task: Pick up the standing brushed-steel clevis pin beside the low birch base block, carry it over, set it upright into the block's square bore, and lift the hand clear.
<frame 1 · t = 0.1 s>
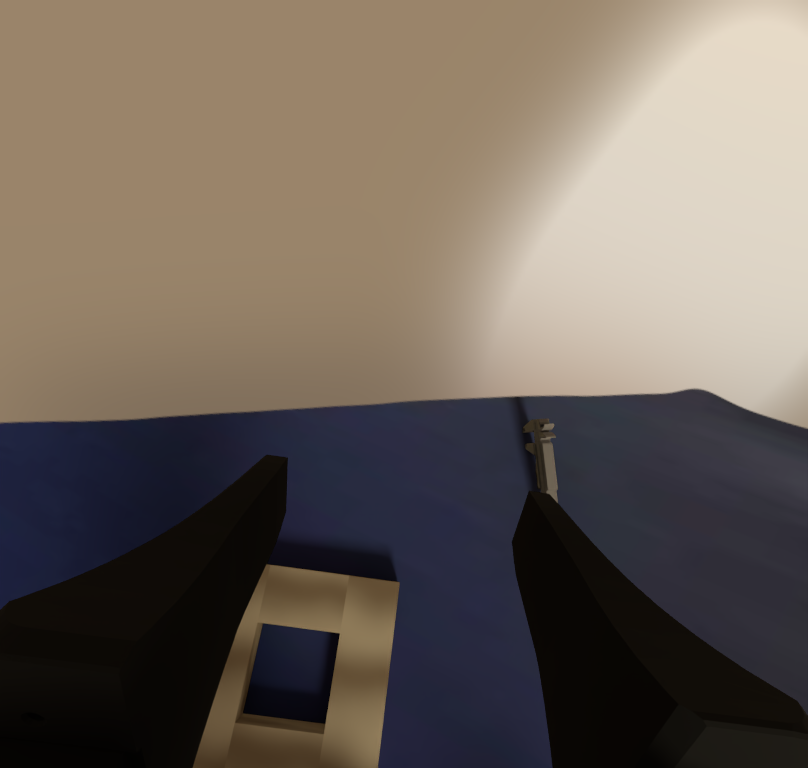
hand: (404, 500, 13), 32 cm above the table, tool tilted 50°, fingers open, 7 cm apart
clevis block: (294, 669, 38), on the table
caliper: (542, 525, 45), on the table
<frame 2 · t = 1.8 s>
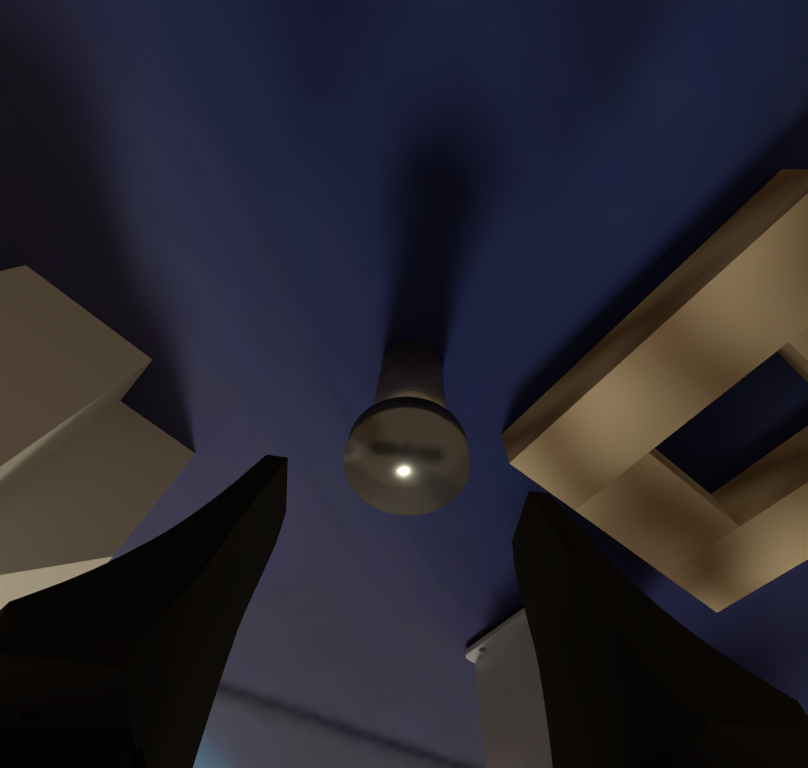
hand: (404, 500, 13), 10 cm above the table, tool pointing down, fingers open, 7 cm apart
corner bracket: (88, 410, 24), on the table
clevis block: (727, 416, 22), on the table
steel pin: (411, 369, 22), on the table
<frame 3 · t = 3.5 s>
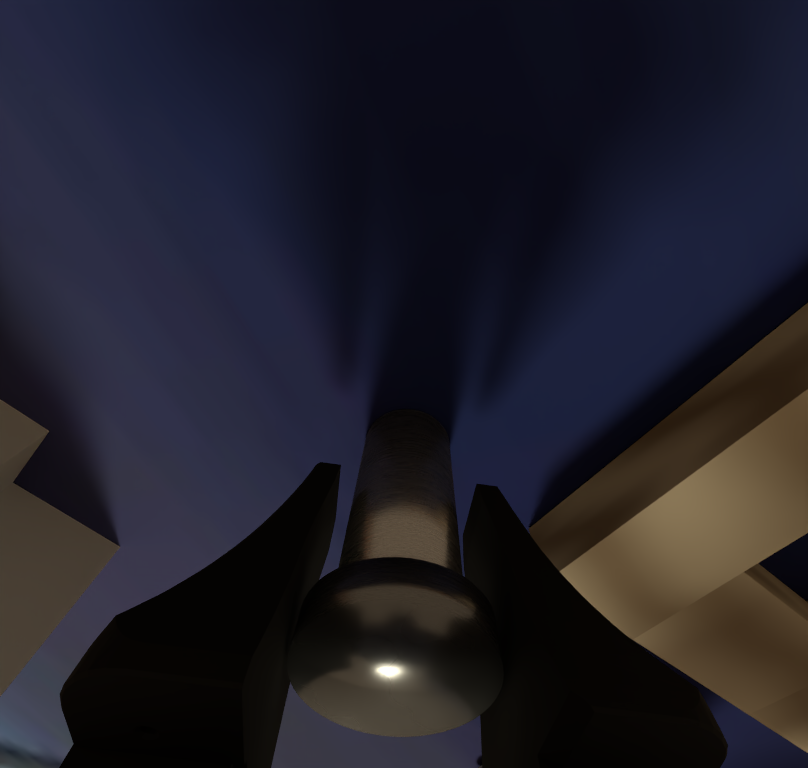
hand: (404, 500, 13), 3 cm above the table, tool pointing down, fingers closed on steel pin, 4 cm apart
steel pin: (407, 445, 16), on the table, touching gripper
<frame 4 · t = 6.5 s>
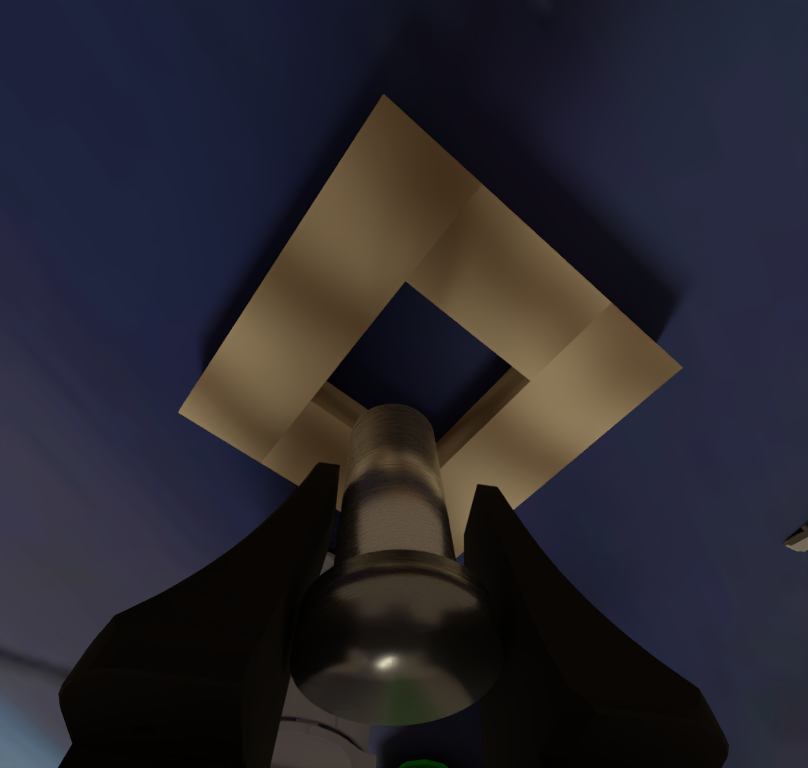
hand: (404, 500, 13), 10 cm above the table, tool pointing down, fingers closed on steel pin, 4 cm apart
clevis block: (418, 368, 22), on the table
steel pin: (392, 440, 16), point 7 cm above the table, touching gripper
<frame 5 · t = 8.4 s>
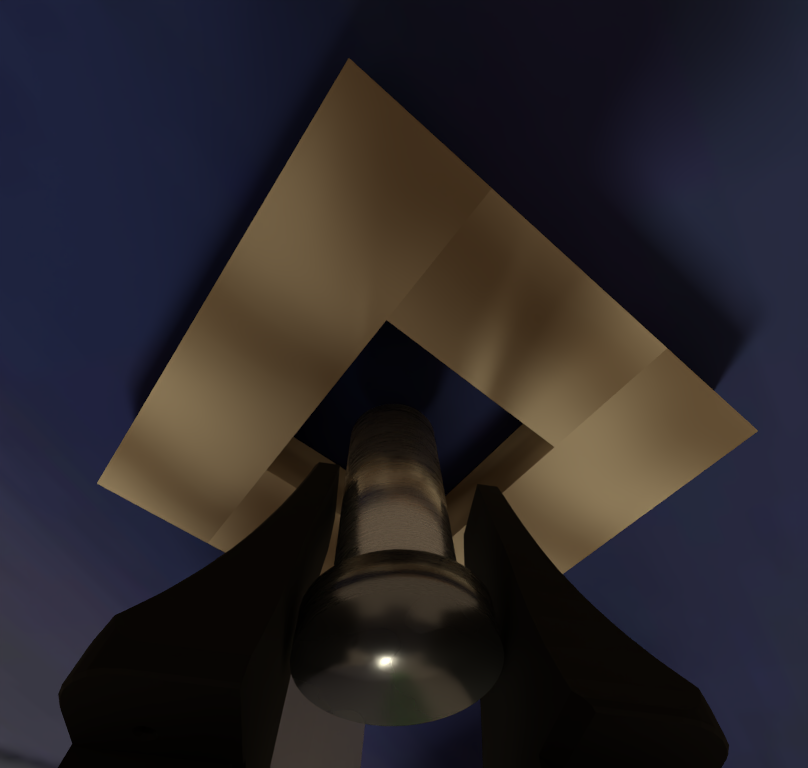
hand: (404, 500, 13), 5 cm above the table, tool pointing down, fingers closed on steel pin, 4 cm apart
clevis block: (408, 421, 17), on the table
steel pin: (392, 440, 16), point 2 cm above the table, touching gripper
when the fingers open (4 cm above the table, at t = 9.8 s): steel pin stays where it is, resting in clevis block.
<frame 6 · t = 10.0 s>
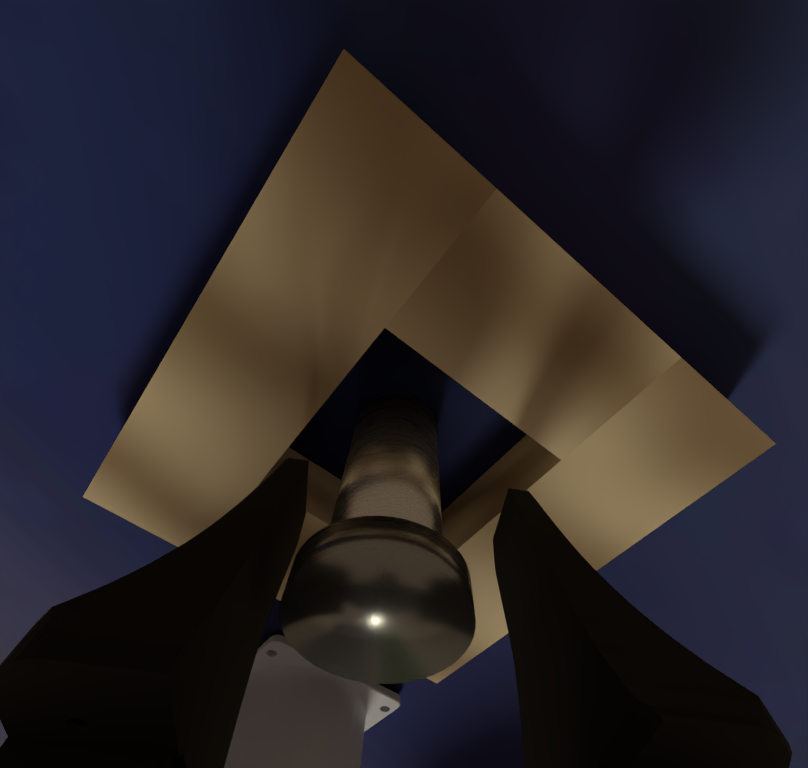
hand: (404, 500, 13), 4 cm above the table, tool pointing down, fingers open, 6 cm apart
clevis block: (408, 431, 17), on the table
steel pin: (396, 428, 17), resting in clevis block
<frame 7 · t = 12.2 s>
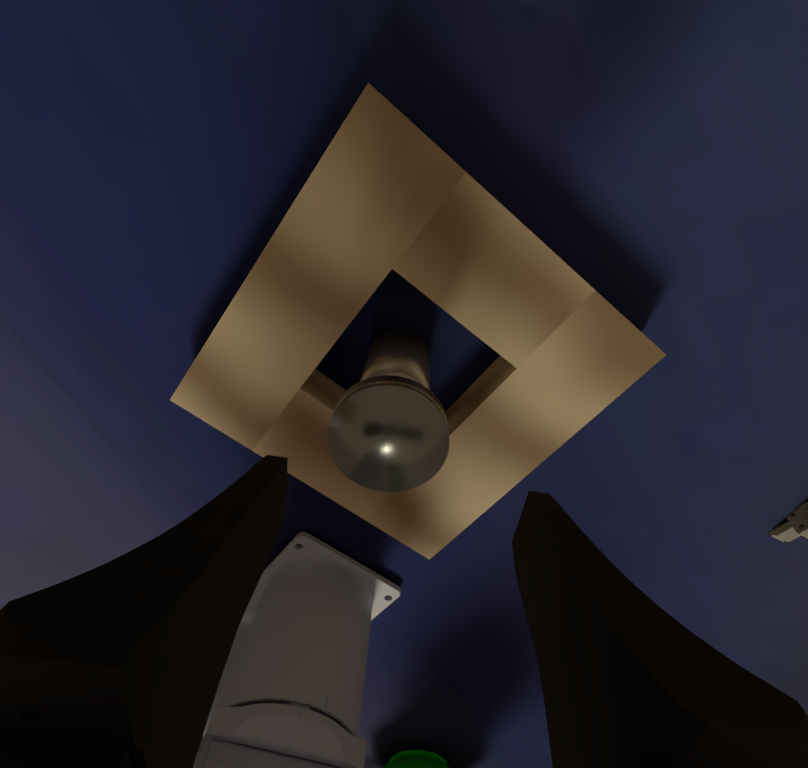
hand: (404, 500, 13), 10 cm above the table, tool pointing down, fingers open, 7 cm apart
plastic bottle: (418, 762, 40), on the table
clevis block: (407, 357, 22), on the table
steel pin: (399, 354, 22), resting in clevis block
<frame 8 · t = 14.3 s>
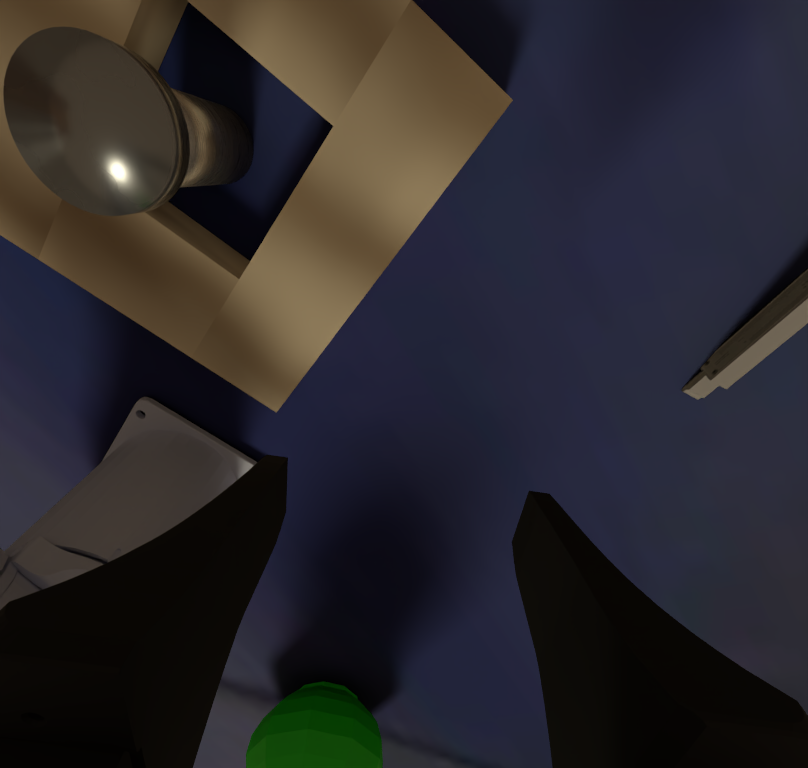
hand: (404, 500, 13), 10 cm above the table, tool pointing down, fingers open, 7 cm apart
plastic bottle: (327, 699, 36), on the table
clevis block: (228, 148, 19), on the table
steel pin: (217, 145, 19), resting in clevis block
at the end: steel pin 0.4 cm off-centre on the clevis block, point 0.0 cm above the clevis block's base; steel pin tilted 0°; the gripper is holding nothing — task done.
